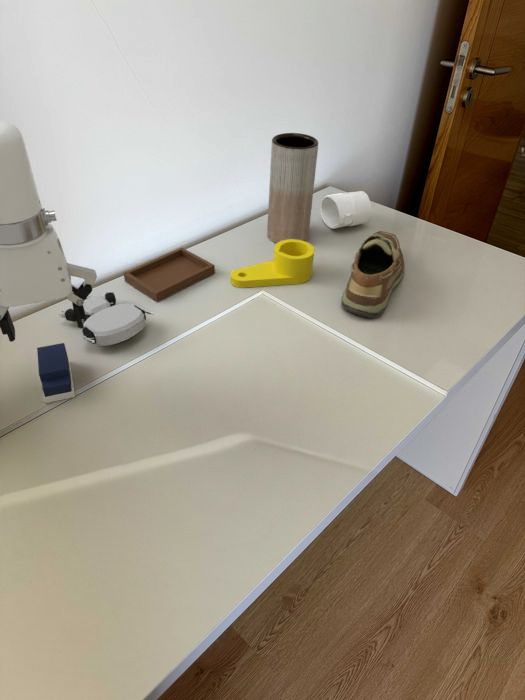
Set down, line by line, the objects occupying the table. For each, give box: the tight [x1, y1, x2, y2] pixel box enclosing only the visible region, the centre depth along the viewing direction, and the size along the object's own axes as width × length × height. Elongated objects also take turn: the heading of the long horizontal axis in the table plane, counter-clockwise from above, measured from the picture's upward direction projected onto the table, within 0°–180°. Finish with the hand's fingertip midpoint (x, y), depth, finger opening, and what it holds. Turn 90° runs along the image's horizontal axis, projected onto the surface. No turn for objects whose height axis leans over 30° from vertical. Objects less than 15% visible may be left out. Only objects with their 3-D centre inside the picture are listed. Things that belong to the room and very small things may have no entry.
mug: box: [320, 190, 372, 230], centre depth 132 cm, size 12×9×8 cm
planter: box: [266, 132, 319, 244], centre depth 120 cm, size 10×10×23 cm
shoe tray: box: [123, 247, 216, 303], centre depth 110 cm, size 16×11×2 cm
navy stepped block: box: [36, 342, 76, 404], centre depth 84 cm, size 9×4×4 cm, turn 20°
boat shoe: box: [341, 230, 405, 319], centre depth 109 cm, size 11×29×11 cm, turn 162°
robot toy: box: [58, 290, 155, 347], centre depth 96 cm, size 12×4×15 cm
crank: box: [230, 239, 315, 289], centre depth 111 cm, size 18×8×6 cm, turn 110°
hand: (46, 329), depth 79 cm, fingers open, 9 cm apart
